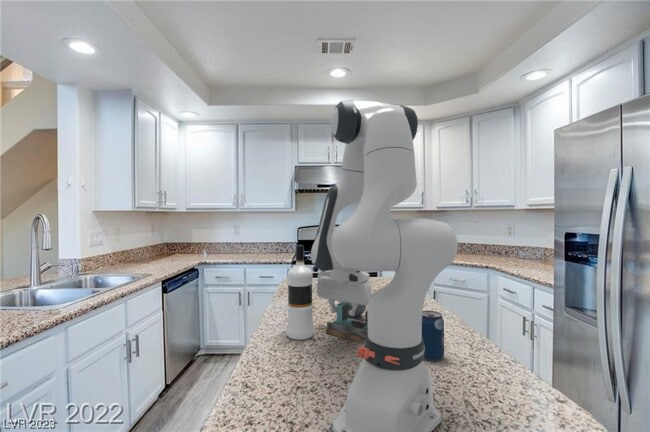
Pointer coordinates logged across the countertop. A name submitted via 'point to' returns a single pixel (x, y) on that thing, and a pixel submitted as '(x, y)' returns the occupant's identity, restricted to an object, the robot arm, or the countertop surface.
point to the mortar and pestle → (357, 311)
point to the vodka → (300, 299)
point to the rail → (350, 329)
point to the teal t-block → (343, 314)
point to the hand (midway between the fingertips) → (343, 313)
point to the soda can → (433, 335)
